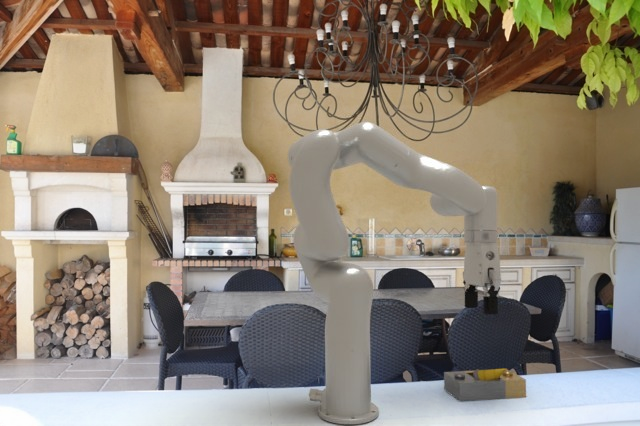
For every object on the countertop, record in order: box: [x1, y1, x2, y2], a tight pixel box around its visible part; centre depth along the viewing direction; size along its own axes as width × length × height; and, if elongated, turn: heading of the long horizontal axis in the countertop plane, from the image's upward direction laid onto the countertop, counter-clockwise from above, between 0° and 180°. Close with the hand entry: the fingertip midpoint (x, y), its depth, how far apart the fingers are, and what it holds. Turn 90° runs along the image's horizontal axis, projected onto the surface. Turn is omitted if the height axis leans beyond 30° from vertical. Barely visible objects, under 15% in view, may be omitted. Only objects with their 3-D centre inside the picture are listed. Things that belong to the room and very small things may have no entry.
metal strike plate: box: [443, 369, 527, 402], centre depth 119 cm, size 16×9×5 cm, turn 99°
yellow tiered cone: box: [472, 368, 508, 380], centre depth 118 cm, size 5×5×10 cm
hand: (480, 310), depth 119 cm, fingers open, 9 cm apart
